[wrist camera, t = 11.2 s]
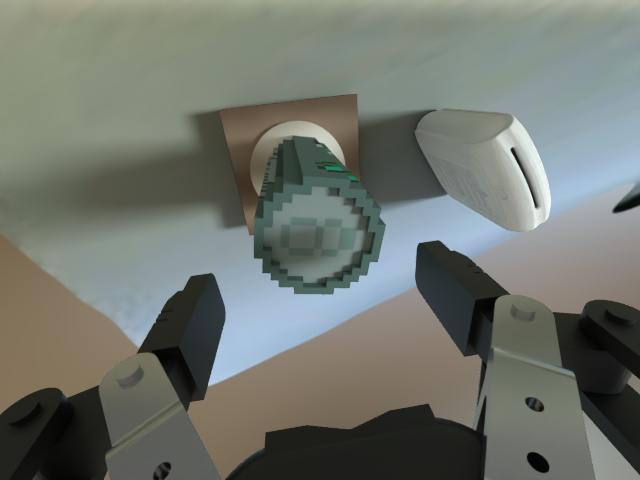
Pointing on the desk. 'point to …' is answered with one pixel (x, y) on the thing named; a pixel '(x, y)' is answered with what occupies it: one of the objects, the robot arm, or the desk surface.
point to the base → (287, 138)
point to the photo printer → (487, 165)
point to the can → (314, 220)
